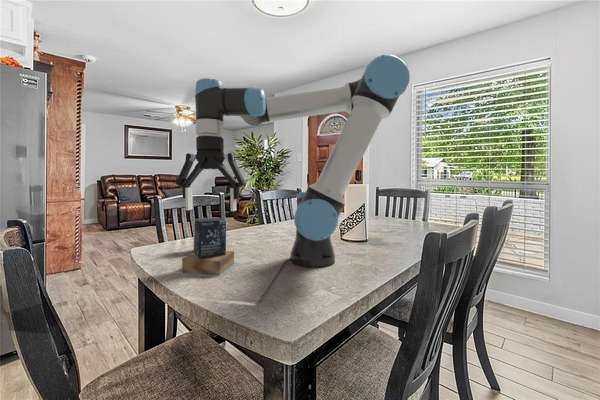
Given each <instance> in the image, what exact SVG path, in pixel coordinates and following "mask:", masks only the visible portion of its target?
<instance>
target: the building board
mask: <svg viewBox="0 0 600 400" xmlns="http://www.w3.org/2000/svg"><path fill="white" fill-rule="evenodd" d="M240 263H241V262H234V264H233V265H232V266H231V267H229V268H228V269H227V270H226V271H224V272H223V273H222V274H221V275H210V274H196V273H182V269H180V270H179V271H176V272H175V273H174V275H182V276H183V275H185V276H197V277H210V278H211V277H212V278H224V277H225V276H226V275H228V274H229V273H230V272H232V271H233V269H235V268H236V267H238V266H239V265H240Z"/></svg>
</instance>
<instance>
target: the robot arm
mask: <svg viewBox="0 0 600 400" xmlns="http://www.w3.org/2000/svg"><path fill="white" fill-rule="evenodd" d="M362 74H363V75H362V76H361V78H359V79H358V80H355V81H350V82H345V84H344V85H343V86H339V87H335V88H327V89H320V90H318V89H317V90H312V91H311V90H310V91H306V92H298V93H290V94H283V95H275V96H271V97H270V96H269V97H266V93H265V91H264V89H262V88H255V87H233V88H232V87H224V84H223V83H222V81H221V80H218V79H215V78H210V77H209V78H208V77H207V78H206V77H205V78H200V79H198V80H197V81H196V83H195V93H194V100H195V134H196V135H197V136H196V139H195V140H196V141H195V142H196V154H193V153H188V152H187V153H186V154H185V161H184V164H183V166H182V168H181V170H180V173H179V174H178V176H177V180H176V181H175V184H176V186H179V187H181V188H182V198H183V199H184V200H185V211H191V210H193V207H194V206H193V205H194V201H193V199H194V197H193V187H191V185H192V184H193V183H194V182H195V180H196V179H197V178H198V176H199V175H200V174H201V173H202V171H204V170H218V171H220V173H221V174H222V175H223V177H224V178H225V179H226V180H227V181H228V182H229V184H230V185H231V186H232V187H231V188H229V190H230V191H229V192H230V195H229V196H230V212H236V211H237V200H239V199H240V189H241V188H242V187H244V186H246V184H247V182H246V180H245V179H244V176H243V175H242V172H241V170H240V168H239V166H238V164H237V161H236V156H235V154H234V153H232V152H229V153H226V154H225V153H224V150H225V145H224V143H225V141H224V138H223V136H224V116H225V117H231V116H233V117H240V118H241V119H242V120H243V121H244V123H246V124H247V125H249V126H252V127H257V126H260V125H262V124H264V123H269V122H277V121H284V120H291V119H299V118H305V117H306V118H307V117H312V116H320V115H327V114H328V115H329V114H334V113H342V112H346V113H347V114H349V115H348V118H347V119H346V121H345V124H344V126H343V128H342V130H341V132H340V134H339V136H338V138H337V140H336V142H335V143H334V146H333V148H332V150H331V152H330V154H329V156H328V158H327V160H326V163H325V164H324V166H323V168H322V170H321V171H320V175H319V177H318V179H317V180H316V182H315V183H313V184H310V185H308V187H307V189H306V191H301V192H299V193H297V195H296V196H297V197H296V201H295V202H296V210H295V213H294V216H293V217H294V225H295V240H294V243H293V245H292V247H291V252H290V257H289V261H290V262H292V263H293V264H296V265H298V266H302V267H313V268H316V267H317V268H318V267H319V268H320V267H328V266H332V265H334V264H335V262H336V254H335V250H334V247H333V244H332V240H331V235H333V233H334V232H335V231H336V229H337V228H338V223H339V217H340V215H341V214H342V211H343V209H344V207H345V205H346V201H345V197H344V195H345V193H346V191H347V189H348V187H349V185H350V184H351V181H352V179H353V178H354V175H355V173H356V171H357V169H358V167H359V166H360V163H361V162H362V159H363V157H364V155H365V153H366V151H367V149H368V147H369V145H370V144H371V141H372V139H373V137H374V135H375V134H376V132H377V129H378V127H379V125H380V123H381V122H382V120H383V119H386V118H389V117H390V115H391V113H392V112H393V109H394V108H395V105H396V103H397V101H398V99H399V98H400V96H401V95H403V94H404V93H405V91H406V90H407V87H408V85H409V83H410V78H411V77H410V76H411V75H410V71H409V68H408V66H407V64H406V62H404V60H402V59H401V58H400V57H398V56H396V55H393V54H381V55H379V56H377V57H375V58H374V59H372V61H371V62H369V63H368V64H367V65H366V68H365V69H364V72H363V73H362ZM225 160H226V161H227V162H228V164H229V167H230V169H231V170H232V173H233V175H234V176H233V175H232V173H231V172H230V171H229V170H228V169H227V167H226V165H225V164H224V161H225ZM195 161H197V163H196V165H195V166H194V168H193V169H192V166H193V165H194V162H195ZM191 169H192V171H191ZM190 171H191V172H190ZM189 173H190V174H189Z"/></svg>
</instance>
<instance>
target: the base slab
mask: <svg viewBox="0 0 600 400" xmlns="http://www.w3.org/2000/svg"><path fill="white" fill-rule="evenodd" d="M234 263H235V251H234V250H232V251H231V250H226V255H219V256H210V257H202V258H199V257H197V256H196V255H195V254H194V252H192V253H191V254H189V255H187V256H185V257H182V259H181V265H182V266H181V268H182V269H181V270H182V273H196V274H210V275H221V274H222V273H223V272H224V271H226V270H227V269H228V268H229V267H231V266H232V265H233V264H234Z"/></svg>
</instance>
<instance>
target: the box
mask: <svg viewBox="0 0 600 400" xmlns="http://www.w3.org/2000/svg"><path fill="white" fill-rule="evenodd" d="M194 224H195V237H194V236H193V253H194V254H195V255H196V256H197V257H199V258H202V257H210V256H219V255H226V251H227V250H226V249H227V220H226V219H224V218H222V217H211V218H210V217H209V218H207V217H206V218H194Z"/></svg>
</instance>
